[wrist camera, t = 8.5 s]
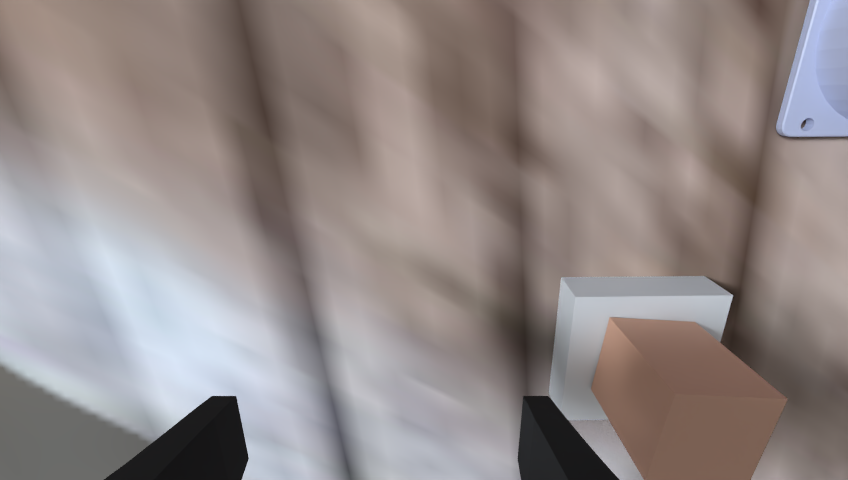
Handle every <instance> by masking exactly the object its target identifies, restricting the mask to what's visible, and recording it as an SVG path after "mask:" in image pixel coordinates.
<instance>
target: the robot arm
mask: <svg viewBox="0 0 848 480" xmlns="http://www.w3.org/2000/svg"><path fill="white" fill-rule="evenodd" d="M804 120H806V124H805V126H804V128H802V129H801V124H802V122H803V121H804ZM776 130H777V132H778V133H779V134H780V135H782V136H787V137H842V136H848V0H810V2H809V6H808V10H807V14H806V17H805V21H804V25H803V28H802V32H801V36H800V39H799V43H798V47H797V51H796V54H795V58H794V62H793V65H792V69H791V73H790V76H789V80H788V84H787V87H786V91H785V95H784V99H783V102H782V106H781V110H780V113H779V117H778V121H777V125H776ZM248 459H249V458H248V453H247V448H246V443H245V438H244V433H243V428H242V423H241V418H240V413H239V408H238V403H237V398H236V396H212V397H210V398H209V399H208V400H206V401H205V402H204V403H202V404H201V405H200V406H198V407H197V408H196V409H194V410H193V411H192V412H191V413H189V414H188V415H187V416H186V417H184V418H183V419H182V420H181V421H179V422H178V423H177V424H176V425H174V426H173V427H172V428H171V429H169V430H168V431H167V432H166V433H164V434H163V435H162V436H161V437H159V438H158V439H157V440H155V441H154V442H153V443H152V444H150V445H149V446H148V447H146V448H145V449H144V450H143V451H141V452H140V453H139V454H138V455H136V456H135V457H134V458H133V459H132V460H130V461H129V462H127V463H126V464H125V465H123V466H122V467H121V468H120V469H118V470H117V471H115V472H114V473H112V474H111V475H110V476H108V477H107V478H106V479H104V480H241V479H242V476H243V474H244V471H245V468H246V465H247V462H248ZM518 463H519V469H520V475H521V480H619V479H618V478H617V477H616V476H615V474H614V473H613V472H612V471H611V470H610V469H609V468H608V467H607V466H606V464H605V463H604V462H603V461H602V460H601V459H600V458H599V457H598V455H597V454H596V453H595V452H594V451H593V450H592V449H591V447H590V446H589V445H588V444H587V443H586V442H585V440H584V439H583V438H582V437H581V436H580V434H579V433H578V432H577V431H576V430H575V428H574V427H573V426H572V425H571V423H570V422H569V421H568V420H567V418H566V417H565V416H564V415H563V413H562V412H561V411H560V410H559V408H558V407H557V406H556V405H555V403H554V402H553V401H552V400H551V399H550V398H549V397H548V396H523V406H522V417H521V429H520V440H519V451H518Z"/></svg>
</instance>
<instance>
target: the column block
mask: <svg viewBox="0 0 848 480" xmlns="http://www.w3.org/2000/svg"><path fill="white" fill-rule="evenodd" d="M591 390H592V392H593V394H594V395H595V397H596V399H597V400H598V402H599V404H600V406H601V407H602V409H603V411H604V412H605V414H606V416H607V417H608V419H609V421H610V423H611V424H612V426H613V428H614V429H615V431H616V433H617V434H618V436H619V438H620V440H621V441H622V443H623V445H624V446H625V448H626V450H627V451H628V453H629V455H630V457H631V458H632V460H633V462H634V463H635V465H636V467H637V469H638V470H639V472H640V474H641V475H642V477H643V479H644V480H751V477H752V475H753V473H754V471H755V469H756V467H757V465H758V462H759V460H760V458H761V456H762V454H763V452H764V450H765V448H766V445H767V443H768V441H769V439H770V437H771V435H772V433H773V430H774V428H775V426H776V424H777V422H778V420H779V418H780V415H781V413H782V411H783V409H784V407H785V405H786V403H787V400H788V399H787V398H786V397H785V396H784V395H782V394H781V393H780V392H779V391H778V390H776V389H775V388H774V387H773V386H772V385H770V384H769V383H768V382H767V381H766V380H764V379H763V378H762V377H761V376H760V375H758V374H757V373H756V372H755V371H754V370H752V369H751V368H750V367H749V366H748V365H746V364H745V363H744V362H743V361H742V360H740V359H739V358H738V357H737V356H736V355H734V354H733V353H732V352H731V351H730V350H728V349H727V348H726V347H725V346H724V345H722V344H721V343H720V342H719V341H718V340H716V339H715V338H714V337H713V336H712V335H710V334H709V333H708V332H707V331H705V330H704V329H703V328H702V327H701V326H699V325H698V324H697V323H696V322H690V321H671V320H652V319H633V318H614V317H609V321H608V325H607V329H606V333H605V337H604V341H603V344H602V348H601V352H600V356H599V360H598V364H597V367H596V371H595V375H594V379H593V383H592V387H591Z"/></svg>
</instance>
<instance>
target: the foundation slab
mask: <svg viewBox="0 0 848 480" xmlns="http://www.w3.org/2000/svg"><path fill="white" fill-rule="evenodd" d="M732 298H733V295H732V294H730V293H729V292H728V291H726V290H725V289H723V288H722V287H720V286H719V285H717V284H716V283H714V282H713V281H711V280H710V279H708V278H707V277H705V276H651V277H561V285H560V294H559V303H558V313H557V322H556V331H555V340H554V350H553V359H552V368H551V377H550V387H549V395H550V397H551V399H552V401H553V402H554V403H555V405H556V406H557V407H558V408H559V410H560V411H561V412H562V413H563V415H564V416H565V417H566V418H567V420H609V419H608V417H607V416H606V414H605V412H604V411H603V409H602V407H601V406H600V404H599V402H598V400H597V399H596V397H595V395H594V394H593V392H592V390H591V387H592V383H593V379H594V375H595V371H596V367H597V364H598V360H599V356H600V352H601V348H602V344H603V341H604V337H605V333H606V329H607V325H608V321H609V317H614V318H633V319H652V320H671V321H690V322H696V323H697V324H698V325H699V326H701V327H702V328H703V329H704V330H705V331H707V332H708V333H709V334H710V335H712V336H713V337H714V338H715V339H716V340H718V341H719V342H721V338H722V334H723V331H724V327H725V323H726V320H727V316H728V312H729V309H730V305H731V301H732Z"/></svg>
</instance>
